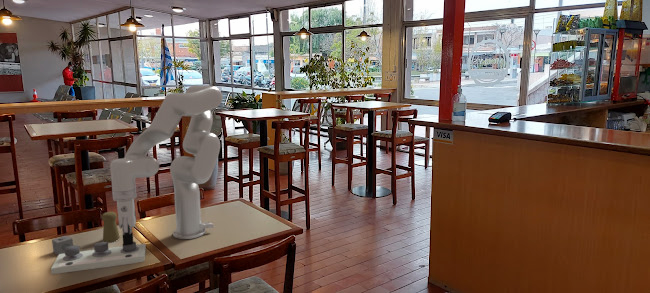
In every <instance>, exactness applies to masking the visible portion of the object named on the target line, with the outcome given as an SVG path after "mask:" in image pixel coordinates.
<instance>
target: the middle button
mask: <svg viewBox="0 0 650 293" xmlns="http://www.w3.org/2000/svg"><path fill="white" fill-rule="evenodd" d="M108 248H109V243H107V242H103V241H99V242H96V243H94V244H93V250H94V251H95V252H104V251H107V250H108Z"/></svg>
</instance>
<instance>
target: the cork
mask: <svg viewBox="0 0 650 293" xmlns="http://www.w3.org/2000/svg"><path fill="white" fill-rule="evenodd" d="M117 219H118V214H117V213H116V212H114V211H107V212H104V213H103V214H102V215H101V220H102V222H103V231H102V242H103V241H104V242H110V243H115V242H117V241H116V240H118V239H119V238H120V239H121V237H120V232H119V228H118V226H117ZM120 239H119V240H120ZM119 240H118V241H119ZM114 241H115V242H114Z"/></svg>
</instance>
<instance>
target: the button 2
mask: <svg viewBox="0 0 650 293" xmlns="http://www.w3.org/2000/svg"><path fill="white" fill-rule="evenodd" d="M136 245H137V242H136V241H133V244H132V245H123V244H122V246H123V251H125V252H129V251H133V250H135V249H136Z"/></svg>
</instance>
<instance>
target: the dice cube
mask: <svg viewBox="0 0 650 293" xmlns="http://www.w3.org/2000/svg"><path fill="white" fill-rule="evenodd" d="M51 243H52V251H53V253H54V254H55V255H57V256H58V255H59V254H64V253H65V248H66V247H68V246H73V245H74V242H73V238H72V237H70V236H68V235H63V236H60V237H59V236H58V237H57V238H53V239H51Z"/></svg>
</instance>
